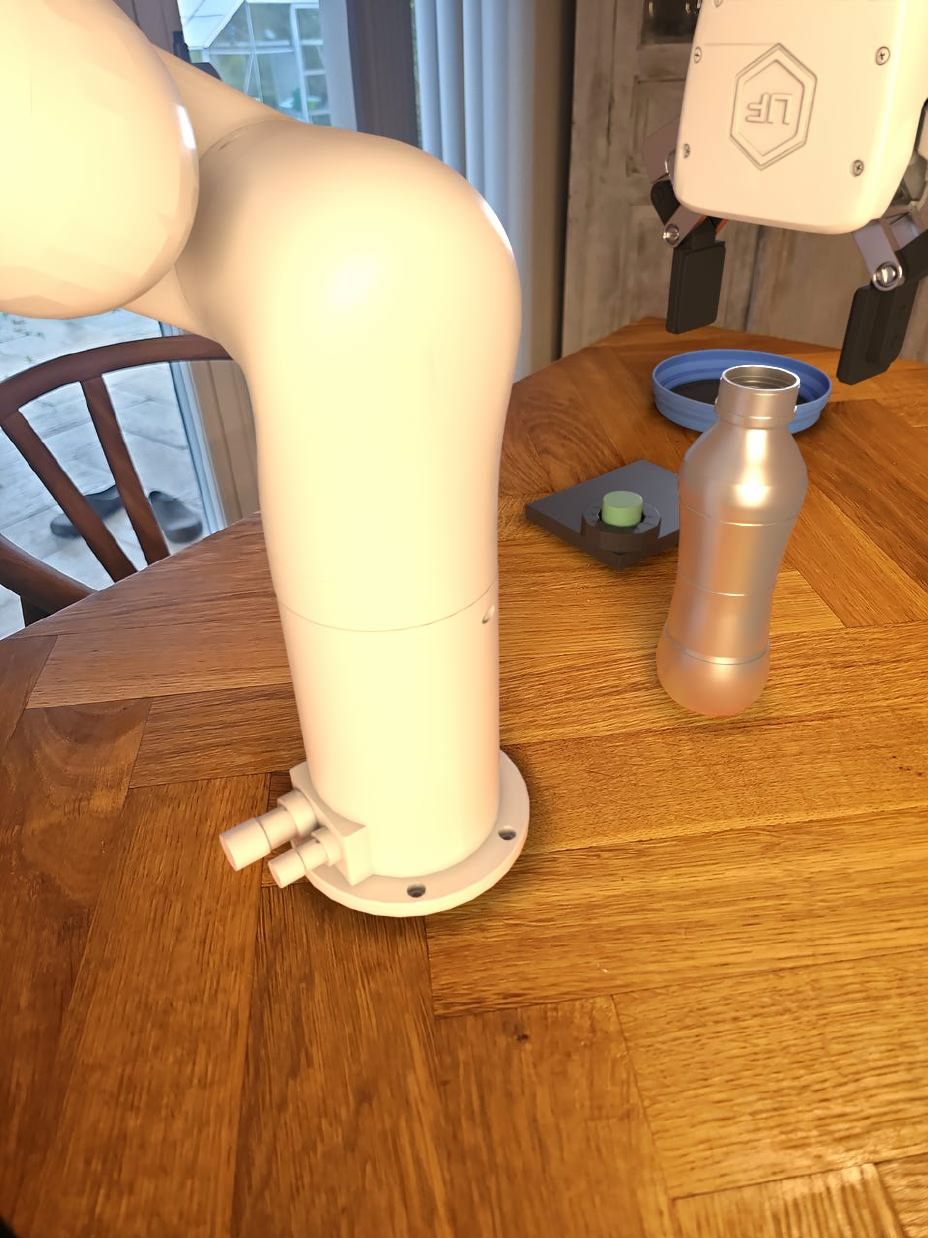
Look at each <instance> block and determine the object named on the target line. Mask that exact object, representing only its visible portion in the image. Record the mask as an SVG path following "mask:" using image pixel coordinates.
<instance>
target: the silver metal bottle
mask: <svg viewBox="0 0 928 1238" xmlns="http://www.w3.org/2000/svg"><path fill="white" fill-rule="evenodd" d="M799 387H800V379H799V377H798V376H796V375H795V374H793V373H791V372H789V371H787V370H783V369H780V368H775V367H769V366H760V365H745V366H737V367H732V368H729V369H727V370H725V371H724V372H723V374H722V377H721V380H720V386H719V393H718V397H717V398H716V400H715V404H714V412H715V414H716V415H717V416H718V419H717V421H715V422H714V423H713V424H712V425H711V426H710V427H709V428H708V429H707V430H706V431H705V432H704V433H703V432H701V434H700V435H699V437H697V438H696V440H695V441H694V442H693V443H692V444H691V445H690V447H689V448H688V449H686V452H685V453H684V456H683V458H682V460H681V463H680V465H679V468H678V472H677V474H678V505H679V531H680V534H679V543H678V550H677V551H678V552H677V557H678V558H677V559H678V562H677V565H676V579H675V584H674V588H673V591H672V592H673V593H672V597H671V602H670V606H669V610H668V615H667V619H666V621H665V622H664V625H663V627H662V630H661V633H660V637H659V640H658V644H657V648H656V652H655V661H656V672H657V678H658V681H659V683H660V685H661V686H662V688H663V689H664V691H665V692H666V693H667V695H668V696H669V698H671V700H673V702H675V703H676V704H678V706H680V707H682V708H683V709H686V710H688V711H690V712H694V713H696V714H699V715H703V716H709V717H711V716H712V717H726V716H727V717H728V716H731V715H735V714H739V713H741V712H742V711H744V710H746V709H748V708H749V707H750V706H752V705H753V704H755V703H756V702H757V701H758V699H759V698H760V697H761V695H762V693H763V690H764V688H765V686H766V684H767V682H768V679H769V678H770V671H771V652H772V651H771V640H770V632H771V631H770V630H771V620H772V613H773V612H772V611H773V610H772V609H773V602H774V600H773V599H774V593H775V589H776V587H777V584H778V575H779V574H780V571H781V568H782V563H783V560H784V557H785V554H786V553H785V552H786V550H787V547H788V544H789V541H790V539H791V537H792V534H793V531H794V529H795V525H796V523H797V521H798V518H799V516H800V513H801V510H802V506H803V505H804V502H805V499H806V495H807V492H808V489H809V479H808V477H809V476H808V470H807V468H808V467H807V464H806V463H805V459H804V458H803V455H802V453H801V451H800V448H799V445H798V444H797V442H796V440H795V439H794V437H793V435H792V434H791V433H790V431H789V430H788V428H787V424H788V423H790V422H792V421H793V420H794V419H795V415H796V411H797V406H796V401H797V396H798V391H799Z"/></svg>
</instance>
